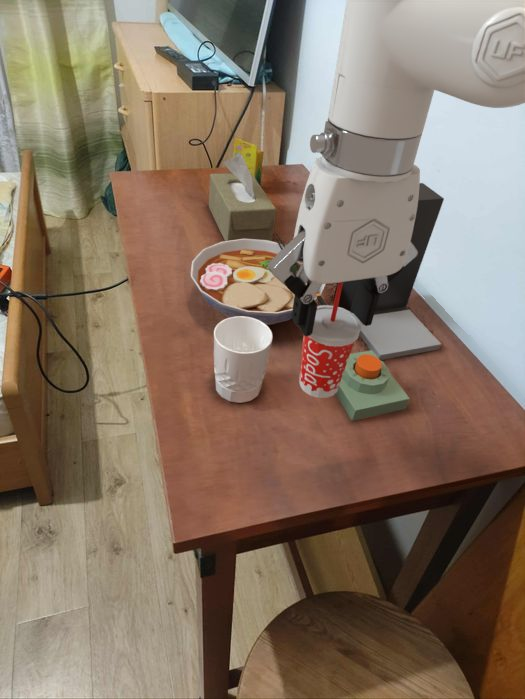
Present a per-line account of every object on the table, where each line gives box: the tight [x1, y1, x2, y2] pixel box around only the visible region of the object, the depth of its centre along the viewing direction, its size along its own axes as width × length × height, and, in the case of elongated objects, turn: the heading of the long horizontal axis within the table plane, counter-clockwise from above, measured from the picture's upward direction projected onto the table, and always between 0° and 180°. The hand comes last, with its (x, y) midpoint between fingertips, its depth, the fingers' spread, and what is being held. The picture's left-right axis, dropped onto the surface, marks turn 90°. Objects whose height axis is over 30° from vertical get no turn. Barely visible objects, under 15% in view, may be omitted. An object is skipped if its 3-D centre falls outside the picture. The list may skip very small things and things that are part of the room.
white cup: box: [213, 316, 274, 404], centre depth 71 cm, size 8×8×10 cm
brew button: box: [355, 354, 382, 379], centre depth 74 cm, size 4×4×2 cm
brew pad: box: [334, 349, 410, 422], centre depth 76 cm, size 11×9×4 cm
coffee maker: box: [332, 182, 445, 361], centre depth 83 cm, size 17×12×22 cm
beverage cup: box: [298, 282, 362, 399], centre depth 54 cm, size 6×6×14 cm
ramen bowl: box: [190, 232, 328, 326], centre depth 87 cm, size 25×23×8 cm
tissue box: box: [208, 153, 277, 242], centre depth 108 cm, size 19×10×16 cm, turn 17°
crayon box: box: [231, 137, 265, 187], centre depth 125 cm, size 7×3×12 cm, turn 52°
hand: (332, 321), depth 53 cm, fingers closed on beverage cup, 6 cm apart
